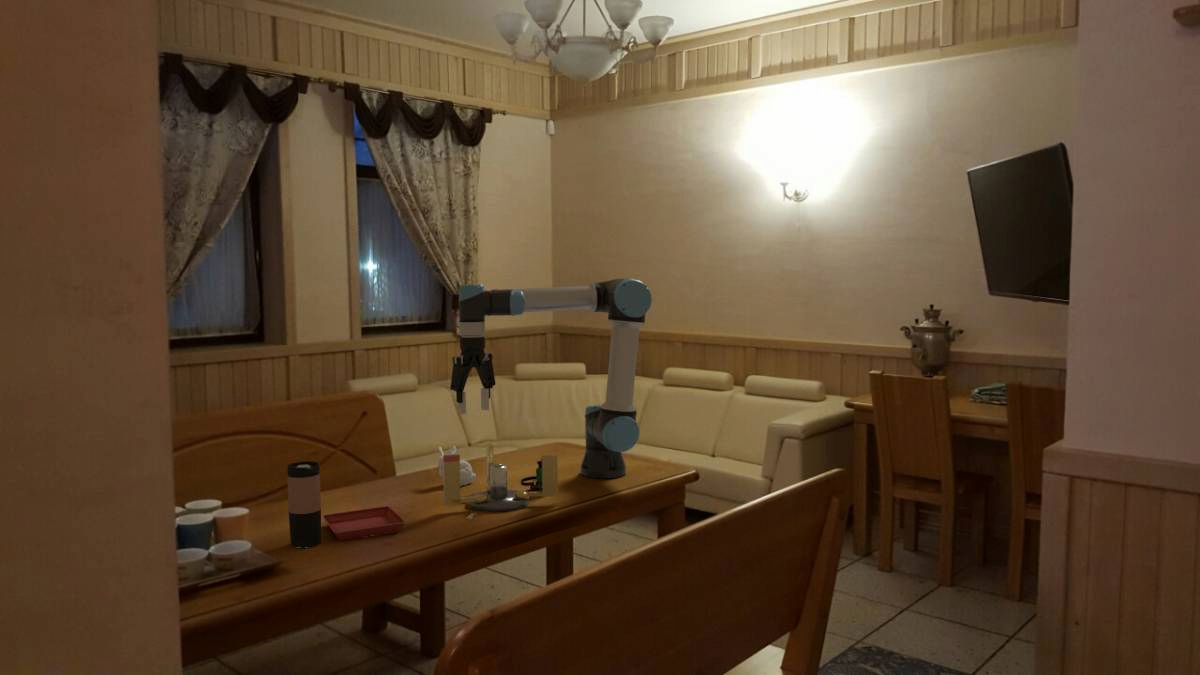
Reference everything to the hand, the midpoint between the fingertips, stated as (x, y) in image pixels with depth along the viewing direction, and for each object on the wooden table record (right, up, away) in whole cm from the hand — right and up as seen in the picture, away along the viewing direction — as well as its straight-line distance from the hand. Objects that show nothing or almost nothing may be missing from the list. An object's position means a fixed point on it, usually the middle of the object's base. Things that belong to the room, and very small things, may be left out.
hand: (473, 411), depth 262 cm
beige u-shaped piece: (0, -24, -16) cm, 29 cm away
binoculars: (+18, -25, +4) cm, 31 cm away
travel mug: (-35, -29, -45) cm, 64 cm away
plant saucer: (-24, -29, -33) cm, 50 cm away
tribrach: (+12, -26, -11) cm, 30 cm away
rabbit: (-9, -25, +15) cm, 30 cm away
